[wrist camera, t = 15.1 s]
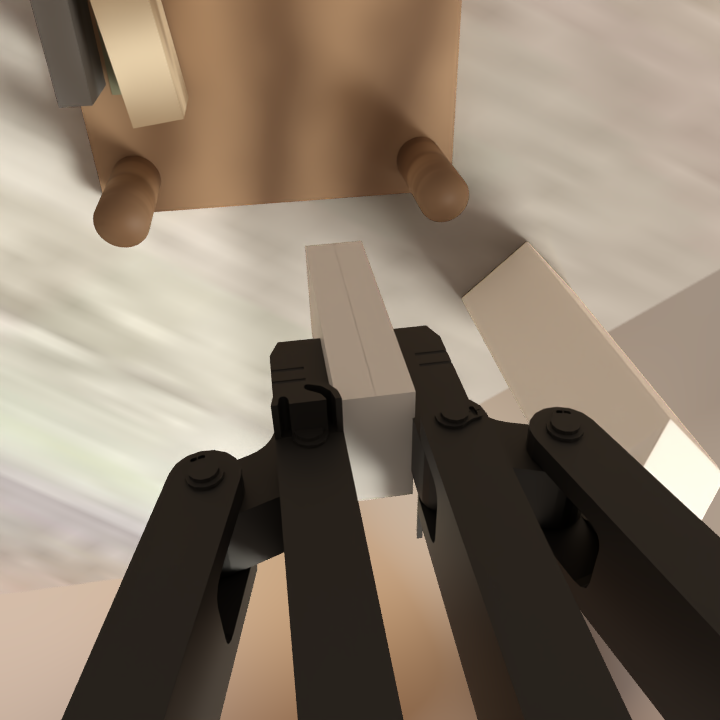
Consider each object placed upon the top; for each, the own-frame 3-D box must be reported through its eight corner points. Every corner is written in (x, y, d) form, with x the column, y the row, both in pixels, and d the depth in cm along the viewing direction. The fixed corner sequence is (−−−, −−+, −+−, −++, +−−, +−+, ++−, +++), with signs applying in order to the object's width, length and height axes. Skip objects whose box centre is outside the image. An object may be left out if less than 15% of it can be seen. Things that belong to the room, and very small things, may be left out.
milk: (526, 239, 46) (712, 463, 28) (574, 291, 49) (770, 523, 31) (458, 299, 48) (592, 545, 30) (508, 345, 51) (657, 594, 33)
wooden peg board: (113, 202, 40) (89, 263, 34) (3, -249, 28) (-66, -287, 22) (442, 177, 42) (479, 231, 36) (464, -250, 31) (524, -286, 24)
